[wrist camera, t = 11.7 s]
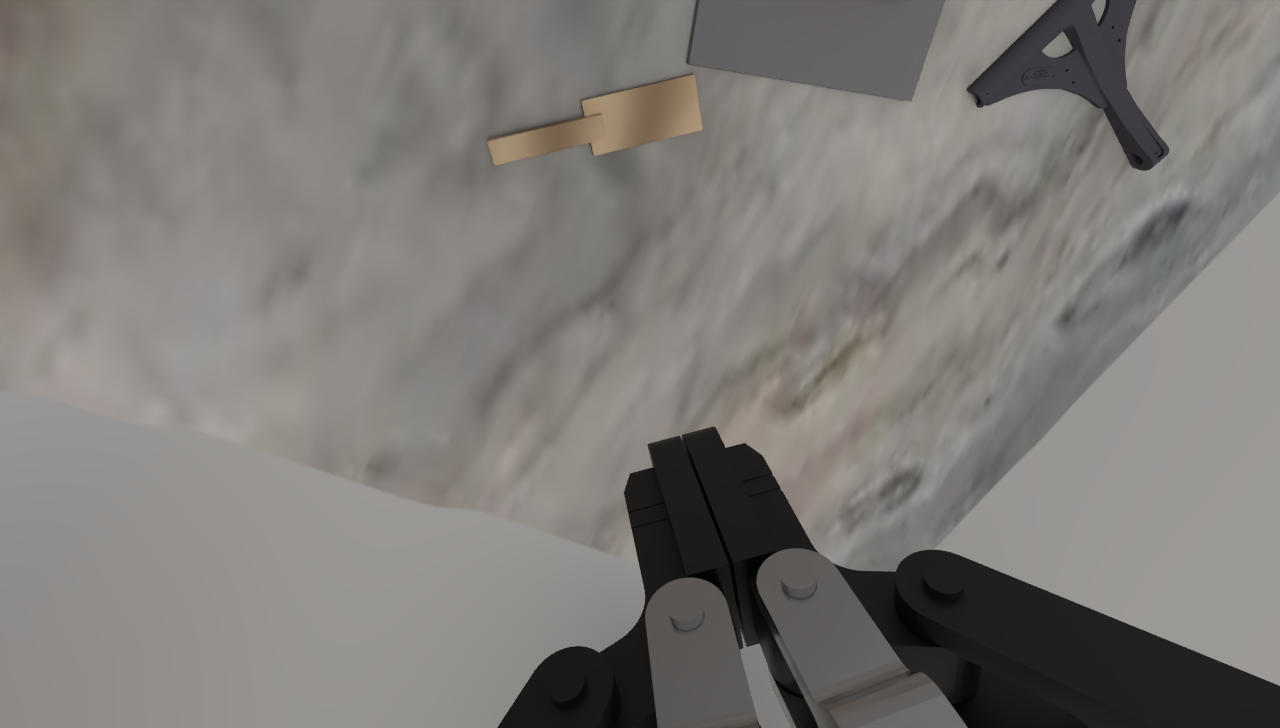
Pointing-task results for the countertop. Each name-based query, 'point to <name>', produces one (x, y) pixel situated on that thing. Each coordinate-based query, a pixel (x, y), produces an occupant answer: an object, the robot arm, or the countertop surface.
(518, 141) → the turner
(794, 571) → the robot arm
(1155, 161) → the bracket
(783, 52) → the mat
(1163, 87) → the countertop surface
